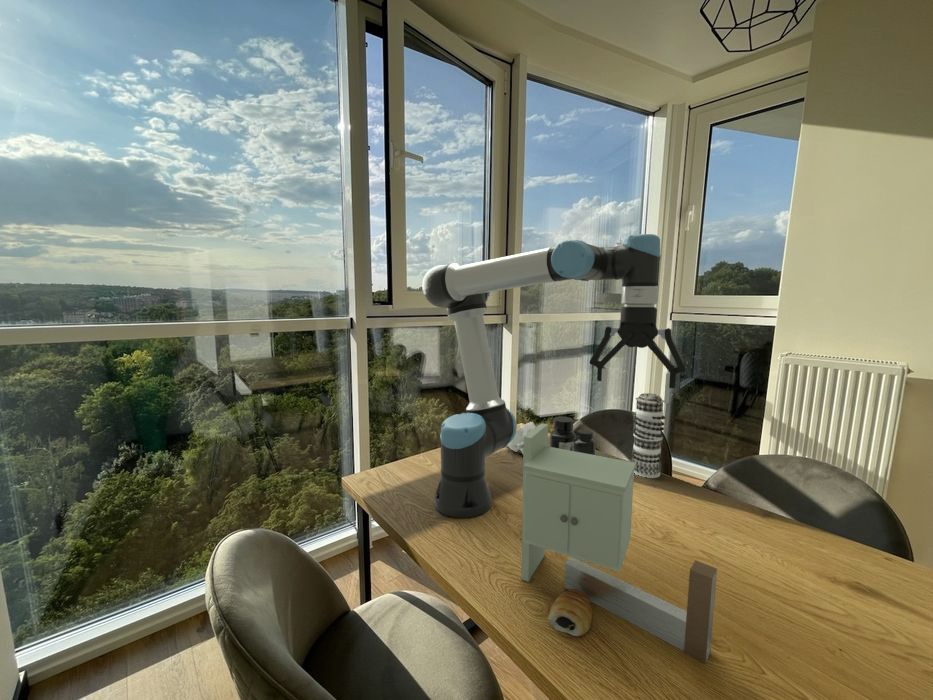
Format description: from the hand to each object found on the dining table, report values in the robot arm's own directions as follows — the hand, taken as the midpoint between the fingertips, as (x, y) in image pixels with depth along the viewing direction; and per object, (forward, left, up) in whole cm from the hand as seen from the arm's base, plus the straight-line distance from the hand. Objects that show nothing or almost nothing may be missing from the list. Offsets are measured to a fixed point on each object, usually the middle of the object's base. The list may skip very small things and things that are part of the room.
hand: (633, 398), depth 95 cm
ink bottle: (-28, +40, -32) cm, 58 cm away
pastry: (-4, -35, -32) cm, 48 cm away
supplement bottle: (-18, +30, -32) cm, 47 cm away
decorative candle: (0, +36, -32) cm, 48 cm away
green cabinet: (-5, -28, -32) cm, 42 cm away
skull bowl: (-40, +33, -32) cm, 61 cm away
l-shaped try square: (+5, -29, -32) cm, 44 cm away
